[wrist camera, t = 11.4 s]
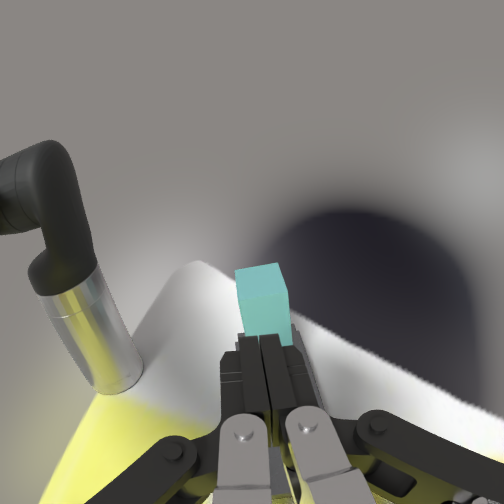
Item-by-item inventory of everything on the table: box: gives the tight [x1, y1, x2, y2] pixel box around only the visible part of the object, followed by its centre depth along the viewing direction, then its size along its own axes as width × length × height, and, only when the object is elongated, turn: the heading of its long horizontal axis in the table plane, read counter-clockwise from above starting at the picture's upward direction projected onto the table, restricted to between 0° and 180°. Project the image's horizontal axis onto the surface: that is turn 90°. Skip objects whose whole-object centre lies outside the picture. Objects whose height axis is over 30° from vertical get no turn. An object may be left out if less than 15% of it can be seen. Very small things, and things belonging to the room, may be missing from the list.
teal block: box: [235, 263, 293, 346], centre depth 37 cm, size 6×5×12 cm
